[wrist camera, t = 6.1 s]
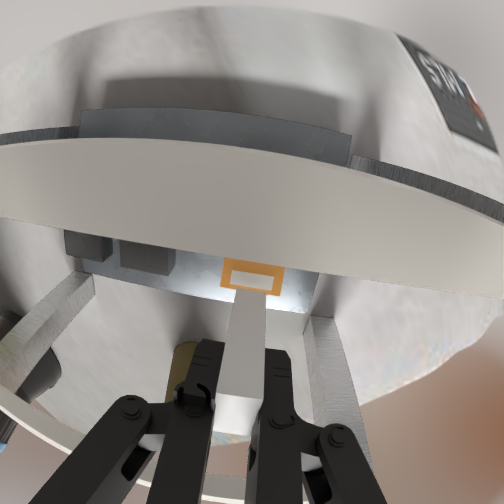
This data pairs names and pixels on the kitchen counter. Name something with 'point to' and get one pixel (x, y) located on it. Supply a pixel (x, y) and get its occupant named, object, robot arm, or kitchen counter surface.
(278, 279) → the orange flat block
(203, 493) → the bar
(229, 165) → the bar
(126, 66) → the kitchen counter surface
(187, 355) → the cork
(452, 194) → the white rail rack
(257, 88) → the kitchen counter surface
